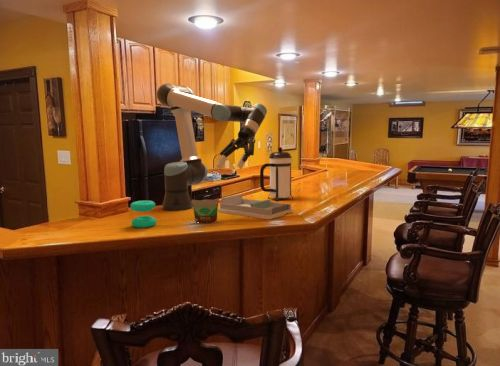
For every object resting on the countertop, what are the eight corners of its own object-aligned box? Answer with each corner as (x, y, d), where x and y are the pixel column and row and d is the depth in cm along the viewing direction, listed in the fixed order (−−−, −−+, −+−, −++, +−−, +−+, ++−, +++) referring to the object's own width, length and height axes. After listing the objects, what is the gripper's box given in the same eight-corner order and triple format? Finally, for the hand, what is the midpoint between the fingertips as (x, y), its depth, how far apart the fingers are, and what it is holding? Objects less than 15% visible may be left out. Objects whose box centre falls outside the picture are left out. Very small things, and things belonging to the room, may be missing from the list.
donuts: (159, 202, 152) (135, 205, 146) (160, 225, 154) (137, 229, 147) (149, 199, 160) (126, 201, 154) (150, 221, 161) (127, 225, 155)
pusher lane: (218, 211, 180) (217, 198, 179) (243, 205, 196) (243, 193, 195) (268, 219, 162) (268, 204, 161) (292, 211, 177) (292, 198, 176)
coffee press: (272, 196, 224) (271, 146, 220) (297, 198, 217) (297, 146, 213) (259, 201, 209) (259, 147, 205) (286, 202, 202) (286, 147, 198)
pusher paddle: (242, 209, 174) (242, 202, 174) (259, 205, 185) (259, 198, 185) (253, 211, 171) (253, 203, 170) (269, 206, 181) (269, 199, 181)
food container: (193, 225, 154) (192, 201, 152) (191, 221, 160) (191, 199, 158) (222, 222, 157) (222, 199, 156) (219, 219, 163) (219, 197, 162)
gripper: (272, 134, 168) (253, 172, 159) (234, 138, 185) (215, 172, 176) (263, 123, 163) (243, 161, 154) (225, 128, 181) (205, 163, 172)
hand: (228, 167), depth 165 cm, fingers open, 13 cm apart
